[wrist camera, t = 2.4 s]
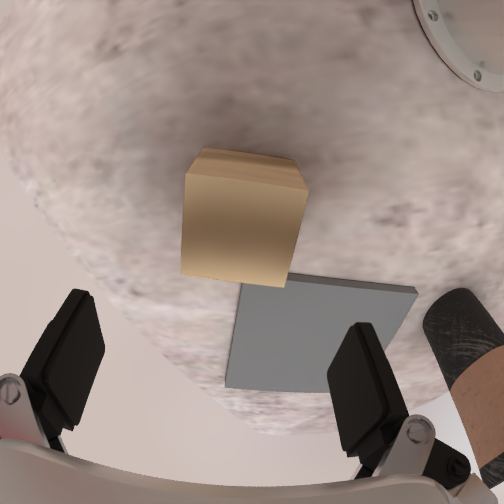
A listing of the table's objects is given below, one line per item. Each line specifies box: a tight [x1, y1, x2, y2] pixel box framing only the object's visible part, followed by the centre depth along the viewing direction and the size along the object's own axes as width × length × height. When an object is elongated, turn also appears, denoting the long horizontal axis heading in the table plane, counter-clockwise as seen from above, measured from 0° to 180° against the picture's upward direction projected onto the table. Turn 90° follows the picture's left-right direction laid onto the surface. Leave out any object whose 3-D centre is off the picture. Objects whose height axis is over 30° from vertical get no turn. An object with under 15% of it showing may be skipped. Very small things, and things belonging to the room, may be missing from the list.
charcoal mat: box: [225, 273, 418, 393], centre depth 28 cm, size 16×16×1 cm
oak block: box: [181, 147, 309, 288], centre depth 18 cm, size 6×6×6 cm
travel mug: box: [423, 288, 504, 489], centre depth 19 cm, size 8×8×20 cm
